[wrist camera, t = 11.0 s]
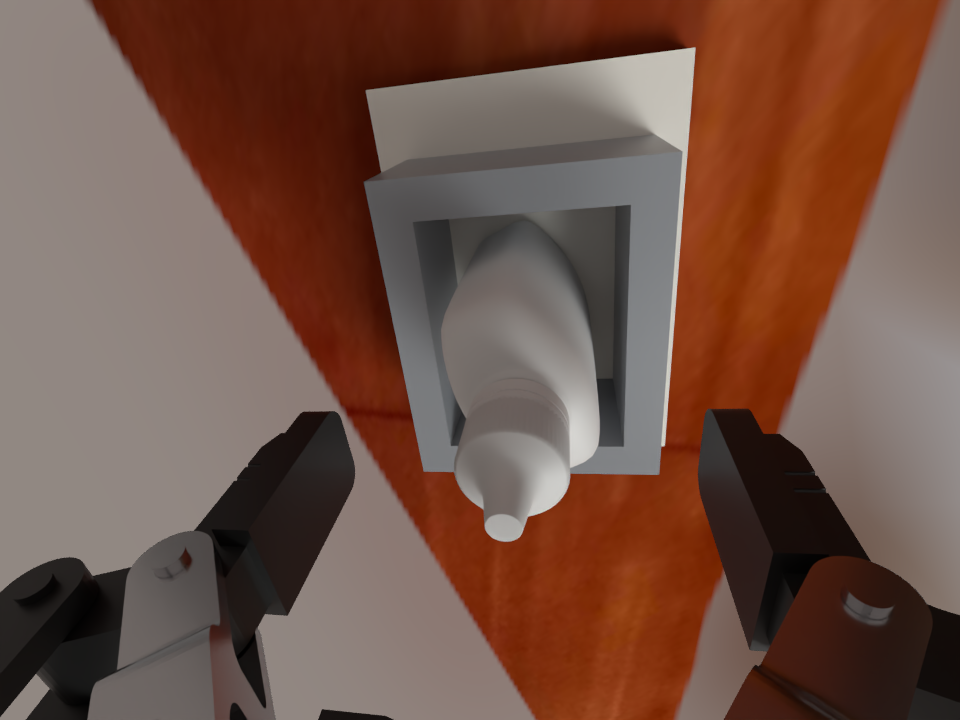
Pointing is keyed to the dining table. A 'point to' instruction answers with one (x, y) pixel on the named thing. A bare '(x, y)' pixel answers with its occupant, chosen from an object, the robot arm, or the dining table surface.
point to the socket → (541, 223)
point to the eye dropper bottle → (520, 376)
